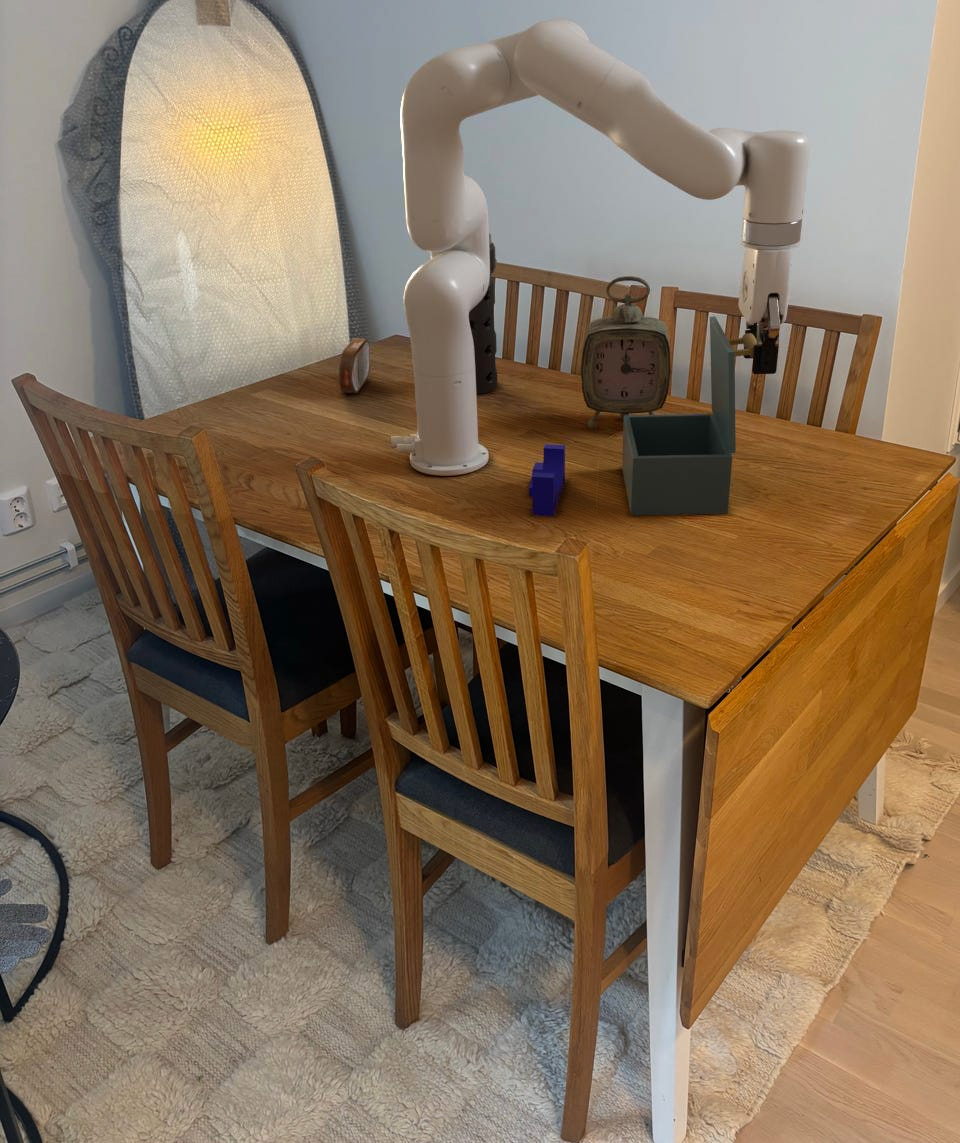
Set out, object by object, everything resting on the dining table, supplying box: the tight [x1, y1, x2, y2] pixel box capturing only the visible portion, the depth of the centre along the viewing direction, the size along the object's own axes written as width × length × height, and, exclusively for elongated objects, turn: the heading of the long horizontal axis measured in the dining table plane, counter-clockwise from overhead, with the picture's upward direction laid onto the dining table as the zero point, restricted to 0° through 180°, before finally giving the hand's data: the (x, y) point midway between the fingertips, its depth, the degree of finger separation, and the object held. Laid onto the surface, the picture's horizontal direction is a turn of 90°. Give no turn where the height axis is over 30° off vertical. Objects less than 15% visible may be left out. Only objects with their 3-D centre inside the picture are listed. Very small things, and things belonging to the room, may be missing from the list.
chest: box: [621, 413, 733, 516], centre depth 157 cm, size 14×17×9 cm
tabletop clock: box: [580, 275, 672, 429], centre depth 178 cm, size 14×9×25 cm, turn 83°
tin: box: [338, 337, 371, 394], centre depth 203 cm, size 15×3×8 cm, turn 172°
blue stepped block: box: [528, 443, 566, 517], centre depth 157 cm, size 12×4×6 cm, turn 168°
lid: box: [709, 315, 757, 454], centre depth 151 cm, size 14×17×5 cm
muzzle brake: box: [469, 232, 499, 396], centre depth 196 cm, size 10×28×10 cm
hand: (759, 364), depth 150 cm, fingers closed on lid, 6 cm apart
